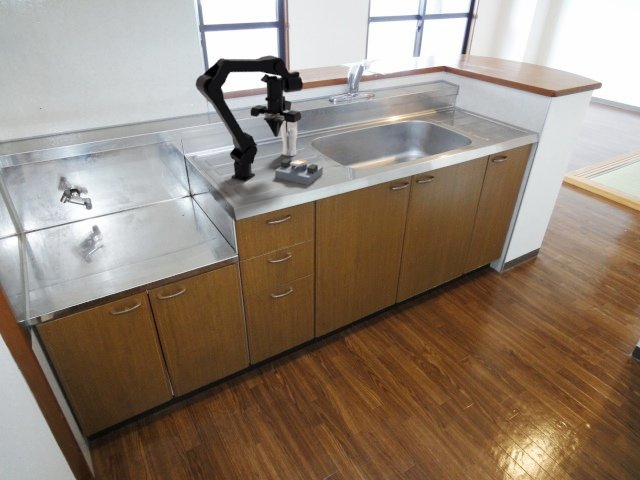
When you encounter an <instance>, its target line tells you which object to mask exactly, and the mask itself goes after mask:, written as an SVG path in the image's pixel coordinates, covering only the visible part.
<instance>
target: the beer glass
mask: <svg viewBox="0 0 640 480" xmlns="http://www.w3.org/2000/svg"><path fill="white" fill-rule="evenodd" d="M280 135H281V139H282V140H281V141H282V153H281V154H282V155H283V156H286V157H293V156H296V155H297V147H296V144H297V138H298V121H297V122H295V123H291V122H286V121H284V122H283V123H282V125H281V128H280Z"/></svg>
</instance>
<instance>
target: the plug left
mask: <svg viewBox="0 0 640 480" xmlns="http://www.w3.org/2000/svg"><path fill="white" fill-rule="evenodd" d="M291 162H292V159H289V158H285V159H283V160H281V161H280V167H284V168H287V167H289V166H290V163H291Z"/></svg>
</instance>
